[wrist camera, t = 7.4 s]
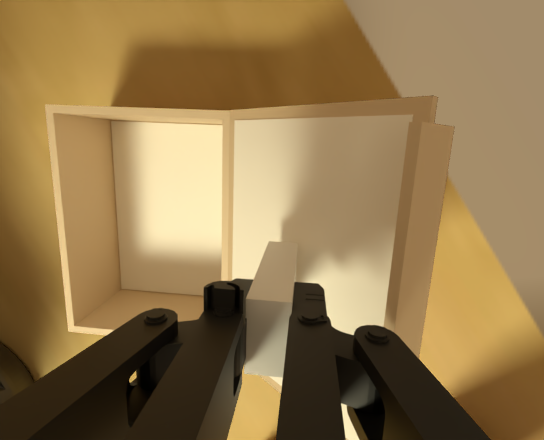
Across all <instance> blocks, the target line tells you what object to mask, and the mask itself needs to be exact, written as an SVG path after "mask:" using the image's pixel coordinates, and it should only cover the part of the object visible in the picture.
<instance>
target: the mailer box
mask: <svg viewBox="0 0 544 440" xmlns="http://www.w3.org/2000/svg"><path fill="white" fill-rule="evenodd" d="M45 111H46V120H47V130H48V140H49V149H50V159H51V169H52V178H53V188H54V198H55V207H56V217H57V227H58V236H59V246H60V256H61V265H62V275H63V285H64V294H65V304H66V314H67V323H68V332H77V333H88V334H98V335H108V334H109V333H111V332H112V331H114V330H115V329H117V328H119V327H120V326H122V325H123V324H125V323H126V322H128V321H129V320H131V319H132V318H134V317H135V316H137V315H138V314H140V313H142V312H144V311H147V310H151V309H153V308H157V309H158V308H164V309H170V310H173V311H175V312H176V313H177V314H178V322H180V321H191V320H197V319H199V317H200V316H201V314H202V312H203V311H204V286H206V285H207V284H209V283H212V282H216V281H228V213H229V130H230V111H228V110H198V109H168V108H138V107H108V106H78V105H48V104H45Z"/></svg>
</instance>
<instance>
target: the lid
mask: <svg viewBox="0 0 544 440" xmlns="http://www.w3.org/2000/svg"><path fill="white" fill-rule="evenodd" d="M437 100H438V97H436V96H422V97H407V98H393V99H379V100H365V101H351V102H337V103H323V104H309V105H295V106H280V107H266V108H252V109H238V110H230V130H229V213H228V281H232V280H234V279H236V278H240V279H253V280H254V277H255V275H256V272H257V270H258V267H259V265H260V262H261V260H262V257H263V255H264V252H265V250H266V247H267V245H268V242H269V241H274V242H289V243H298V249H297V266H296V282H305V283H318V284H319V285H320V286H321V287H322V288H323V289H324V293H325V302H326V311H327V316H328V317H329V319H330V321H331V326H332V327H334V328H335V329H337V330H339V331H341V332H344V333H347V334H351V335H354V332H355V330H356V329H357V328H358V327H360V326H364V325H378V326H382V327H385V328H387V329H389V330H391V331H393V332H394V333H395V334H397V335H398V336H399V337H400V338H401V339H402V341H403V342H404V343H405V344H406V345H407V346H408V347H409V348H410V350H411V351H412V352H413V353H414V354H415V355H416V356H417V357H418V359H419V354H420V347H421V341H422V334H423V328H424V322H425V315H426V309H427V302H428V296H429V289H430V283H431V276H432V270H433V263H434V257H435V250H436V244H437V237H438V231H439V224H440V218H441V211H442V205H443V199H444V192H445V186H446V179H447V173H448V166H449V160H450V153H451V146H452V140H453V134H454V127H452V126H446V125H440V124H434V122H435V114H436V107H437ZM244 363H245V362H244ZM258 376H260V377H261V378H262V379H263V380H264V381H266V382H267V383H268V384H269V385H271V386H272V387H273V388H274V389H275V390H277V391H278V392H279V393H280V394H281V390H282V380H283V378H282V377H272V376H263V375H258ZM341 406H342V414H343V422H344V430H345V438H346V440H359V438H358V436H357V433H356V431H355V429H354V427H353V425H352V422H351V420H350V418H349V416H348V413H347V405H345V404H342V403H341Z"/></svg>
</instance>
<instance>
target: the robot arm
mask: <svg viewBox="0 0 544 440" xmlns="http://www.w3.org/2000/svg"><path fill="white" fill-rule="evenodd" d="M297 249H298V243H289V242H274V241H269V242H268V245H267V247H266V250H265V252H264V255H263V257H262V260H261V262H260V265H259V267H258V270H257V272H256V275H255V277H254V280H253V279H240V278H236V279H234V280H232V281H216V282H212V283H209V284H207V285H206V286H204V311H203V312H202V314H201V316H200V317H199V319H197V320H191V321H180V322H178V314H177V313H176V312H175V311H173V310H170V309H164V308H158V309H157V308H153V309H151V310H147V311H144V312H142V313H140V314H138V315H137V316H135V317H134V318H132V319H131V320H129V321H128V322H126V323H125V324H123V325H122V326H120V327H119V328H117V329H115V330H114V331H112V332H111V333H109V334H108V335H106V336H105V337H103V338H102V339H100V340H99V341H97V342H96V343H94V344H92V345H91V346H89V347H88V348H86V349H85V350H83V351H82V352H80V353H79V354H77V355H76V356H74V357H73V358H71V359H70V360H68V361H66V362H65V363H63V364H62V365H60V366H59V367H57V368H56V369H54V370H53V371H51V372H50V373H48V374H47V375H45V376H44V377H42V378H40V379H39V380H37V381H36V382H34V381H33V379H32V377H31V375H30V374H29V372H28V370H27V369H26V367H25V366H24V365H23V363H22V362H21V361H20V360H19V359H18V358H17V357H16V356H15V355H14V354H13V353H12V352H11V351H10V350H9V349H7V348H6V347H5V346H4V345H2V344H1V343H0V440H227V436H228V433H229V429H230V425H231V422H232V418H233V414H234V411H235V407H236V403H237V400H238V396H239V392H240V389H241V385H242V369H243V365H244V374H253V375H263V376H272V377H282V378H283V380H282V390H281V399H280V408H279V417H278V426H277V435H276V440H346V438H345V430H344V422H343V414H342V406H341V403H342V404H345V405H347V413H348V416H349V418H350V420H351V422H352V425H353V427H354V429H355V431H356V433H357V436H358V438H359V440H491V439H490V438H489V437H488V436H487V435H486V434H485V433H484V432H483V430H482V429H481V428H480V427H479V426H478V425H477V424H476V423H475V422H474V420H473V419H472V418H471V417H470V416H469V415H468V414H467V413H466V411H465V410H464V409H463V408H462V407H461V406H460V405H459V404H458V402H457V401H456V400H455V399H454V398H453V397H452V396H451V395H450V393H449V392H448V391H447V390H446V389H445V388H444V387H443V386H442V384H441V383H440V382H439V381H438V380H437V379H436V378H435V377H434V375H433V374H432V373H431V372H430V371H429V370H428V369H427V368H426V366H425V365H424V364H423V363H422V362H421V361H420V360H419V359H418V357H417V356H416V355H415V354H414V353H413V352H412V351H411V350H410V348H409V347H408V346H407V345H406V344H405V343H404V342H403V341H402V339H401V338H400V337H399V336H398V335H397V334H395V333H394V332H393V331H391V330H389V329H387V328H385V327H382V326H378V325H364V326H360V327H358V328H357V329H356V330H355V332H354V335H351V334H347V333H344V332H341V331H339V330H337V329H335V328H334V327H332V326H331V321H330V319H329V317H328V316H327V311H326V302H325V293H324V289H323V288H322V287H321V286H320V285H319V284H318V283H305V282H296V266H297ZM244 362H245V363H244ZM135 371H136V375H137V378H136V379H135V380H134V381H132V382H131V383H129V379H130V377H131V375H132V374H133V373H134V372H135Z"/></svg>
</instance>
